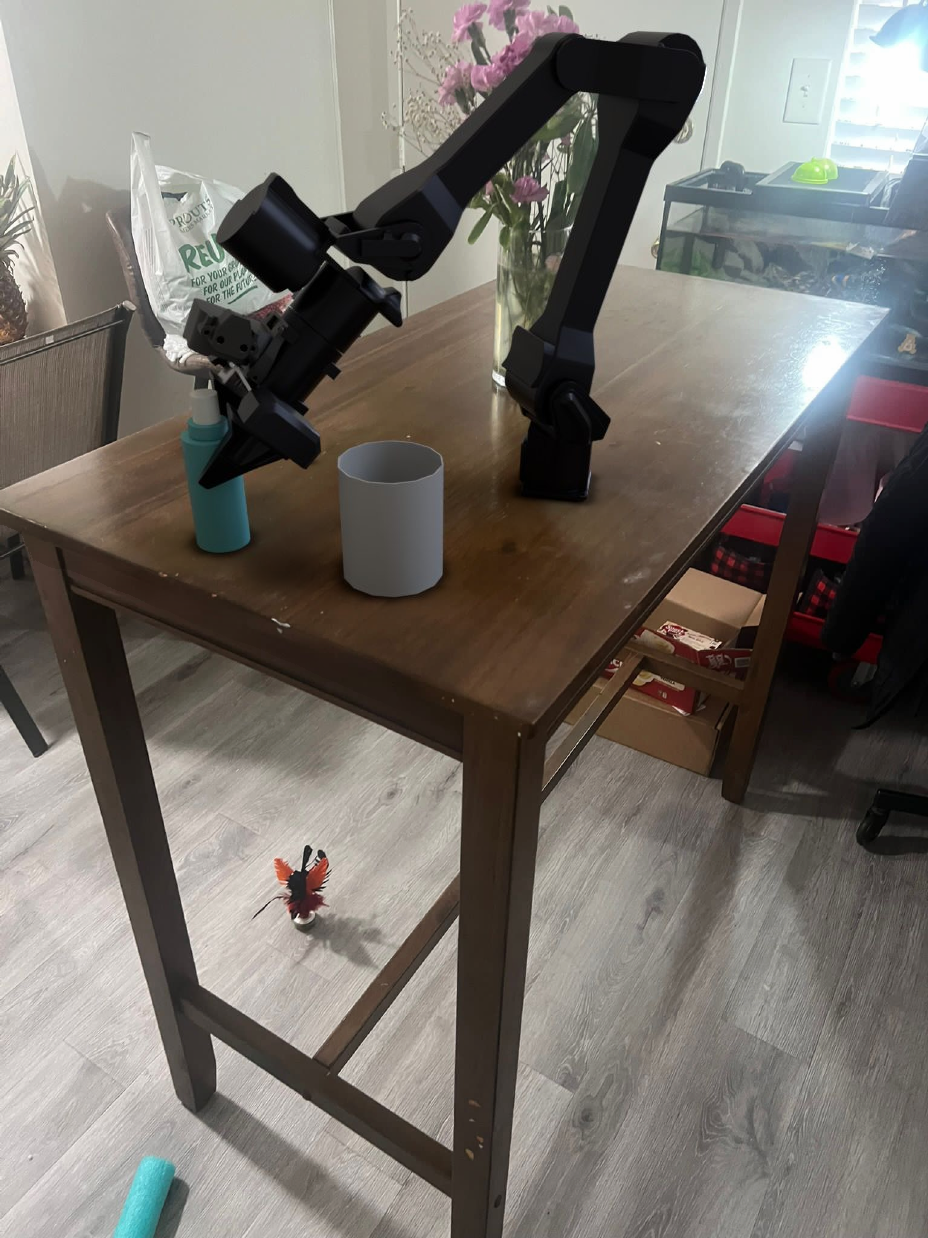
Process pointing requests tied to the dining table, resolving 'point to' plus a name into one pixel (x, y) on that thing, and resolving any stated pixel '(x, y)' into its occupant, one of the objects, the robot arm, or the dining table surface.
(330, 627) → the dining table surface
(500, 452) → the dining table surface
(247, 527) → the bottle
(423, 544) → the cup
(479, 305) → the dining table surface
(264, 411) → the robot arm
